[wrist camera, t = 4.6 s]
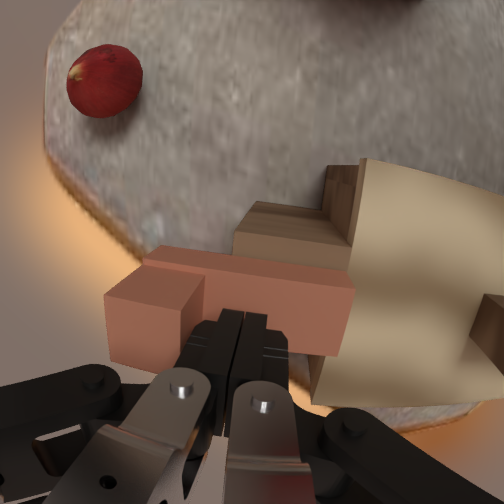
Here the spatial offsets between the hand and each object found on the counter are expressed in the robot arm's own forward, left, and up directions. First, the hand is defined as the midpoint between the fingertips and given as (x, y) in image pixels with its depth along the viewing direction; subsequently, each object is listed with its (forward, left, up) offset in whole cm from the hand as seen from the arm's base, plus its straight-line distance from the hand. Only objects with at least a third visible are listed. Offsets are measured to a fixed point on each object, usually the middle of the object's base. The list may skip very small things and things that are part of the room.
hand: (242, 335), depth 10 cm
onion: (-11, -13, -15) cm, 23 cm away
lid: (0, +15, -6) cm, 16 cm away
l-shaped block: (0, 0, -3) cm, 3 cm away
